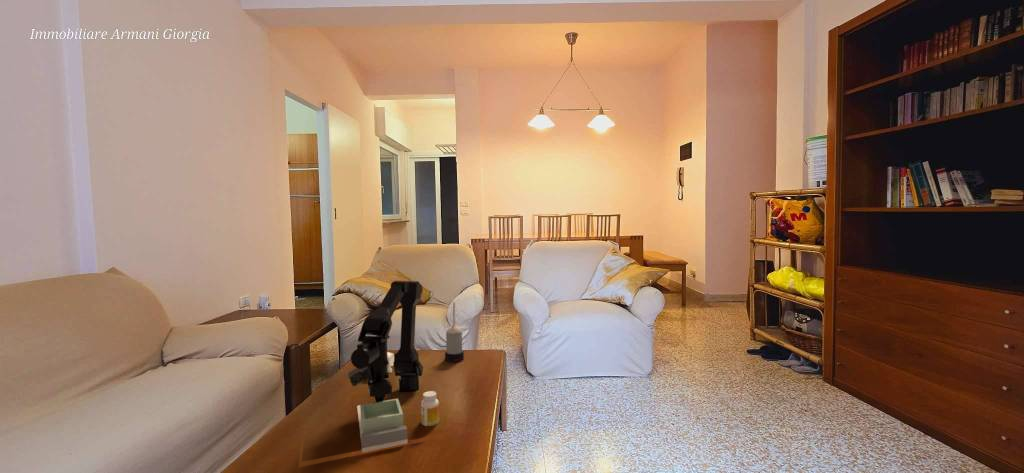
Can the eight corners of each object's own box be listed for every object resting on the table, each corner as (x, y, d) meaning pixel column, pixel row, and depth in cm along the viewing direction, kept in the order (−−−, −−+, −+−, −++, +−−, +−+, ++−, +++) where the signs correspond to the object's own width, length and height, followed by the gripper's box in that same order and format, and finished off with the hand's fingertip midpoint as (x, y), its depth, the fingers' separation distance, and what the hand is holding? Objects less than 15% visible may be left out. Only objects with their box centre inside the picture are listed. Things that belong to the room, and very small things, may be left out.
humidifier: (456, 363, 184) (455, 305, 183) (441, 360, 188) (440, 303, 187) (467, 357, 191) (467, 301, 190) (452, 354, 195) (452, 299, 194)
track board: (394, 402, 148) (394, 390, 147) (407, 443, 122) (407, 429, 121) (357, 408, 143) (356, 396, 143) (362, 452, 117) (361, 438, 117)
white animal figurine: (374, 373, 182) (365, 373, 168) (376, 352, 184) (367, 350, 170) (395, 373, 182) (388, 372, 168) (396, 352, 185) (389, 349, 171)
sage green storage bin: (398, 416, 135) (397, 398, 135) (403, 432, 125) (403, 413, 125) (360, 422, 131) (360, 404, 131) (363, 440, 121) (362, 421, 121)
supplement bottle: (442, 422, 134) (442, 391, 133) (433, 430, 129) (433, 398, 128) (426, 419, 136) (426, 389, 135) (417, 427, 130) (417, 396, 130)
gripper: (348, 350, 139) (350, 398, 140) (350, 371, 122) (351, 425, 123) (385, 346, 143) (386, 393, 144) (391, 365, 126) (392, 418, 127)
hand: (378, 406), depth 134 cm, fingers closed
